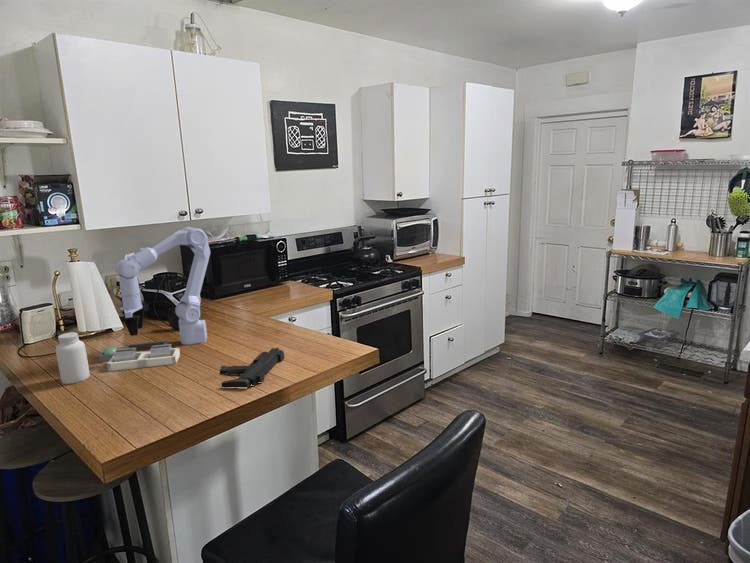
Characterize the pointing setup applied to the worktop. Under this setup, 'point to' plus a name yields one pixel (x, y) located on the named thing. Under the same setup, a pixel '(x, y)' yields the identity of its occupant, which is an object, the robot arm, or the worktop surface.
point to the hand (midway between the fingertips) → (136, 331)
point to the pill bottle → (72, 359)
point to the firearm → (253, 369)
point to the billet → (125, 354)
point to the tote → (146, 344)
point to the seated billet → (161, 351)
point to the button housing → (105, 357)
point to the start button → (109, 350)
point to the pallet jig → (144, 361)
